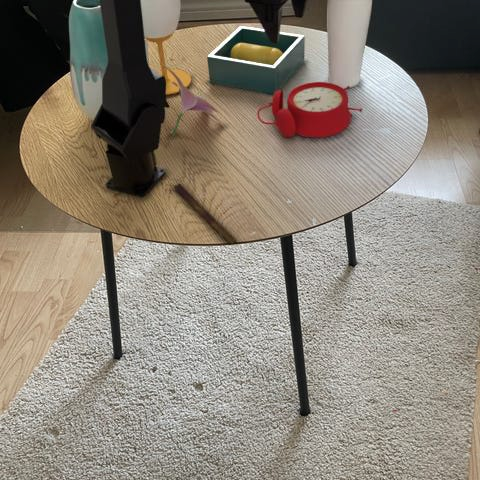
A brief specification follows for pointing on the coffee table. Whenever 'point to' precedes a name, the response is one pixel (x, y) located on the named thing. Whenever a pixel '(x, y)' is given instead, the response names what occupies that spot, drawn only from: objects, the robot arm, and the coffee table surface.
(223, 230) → the dark brown stick
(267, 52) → the yellow capsule cylinder
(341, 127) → the alarm clock
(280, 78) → the open box
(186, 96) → the lily
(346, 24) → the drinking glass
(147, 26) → the cup
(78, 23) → the vase
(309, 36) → the coffee table surface
